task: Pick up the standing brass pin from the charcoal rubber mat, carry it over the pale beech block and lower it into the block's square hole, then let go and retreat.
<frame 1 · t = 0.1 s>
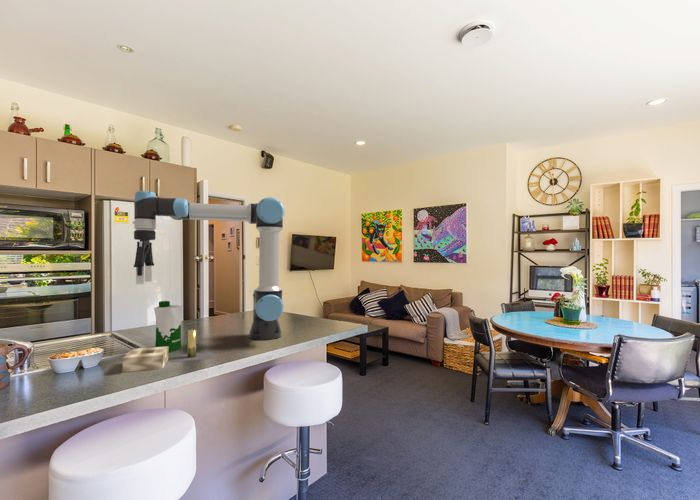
hand: (144, 282, 142), 28 cm above the worktop, fingers open, 13 cm apart
brass pin: (191, 356, 135), resting on mat
milk carton: (168, 351, 145), on the worktop
hole block: (146, 365, 125), on the worktop
mat: (191, 357, 135), on the worktop
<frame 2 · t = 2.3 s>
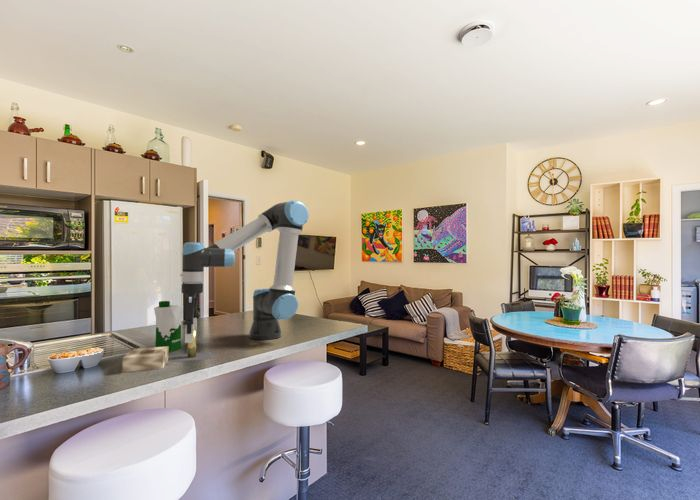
hand: (190, 338, 135), 7 cm above the worktop, fingers open, 13 cm apart
nothing on the worktop moved.
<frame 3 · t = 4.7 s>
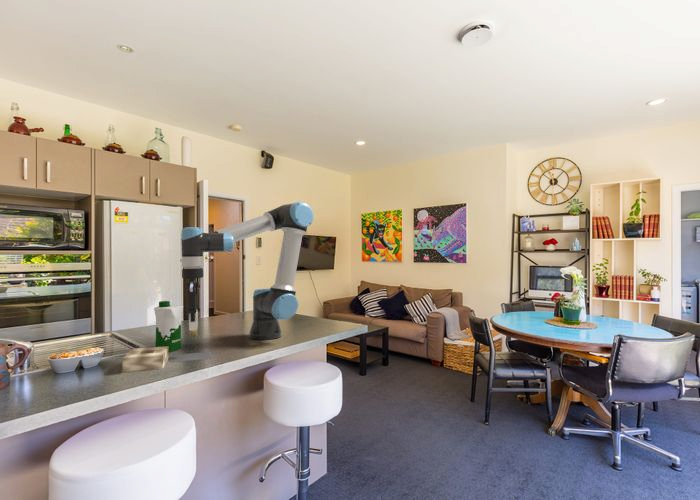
hand: (193, 328, 136), 11 cm above the worktop, fingers closed on brass pin, 3 cm apart
brass pin: (193, 336, 136), point 8 cm above the worktop, touching gripper
everything else where it was.
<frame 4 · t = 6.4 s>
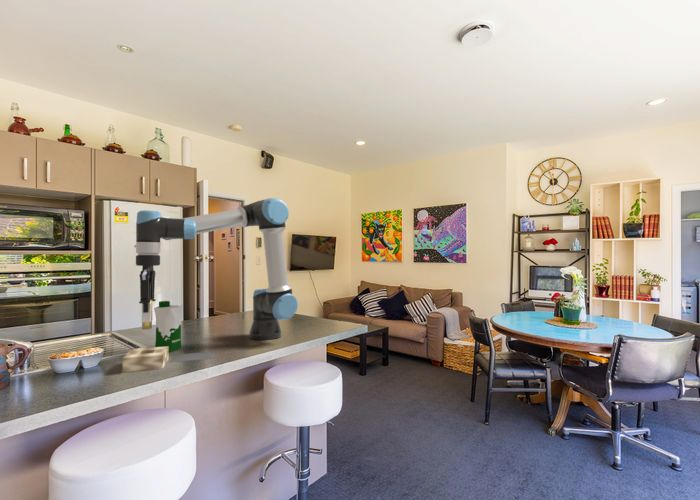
hand: (147, 320, 125), 16 cm above the worktop, fingers closed on brass pin, 2 cm apart
brass pin: (146, 328, 125), point 13 cm above the worktop, touching gripper
everything else where it was.
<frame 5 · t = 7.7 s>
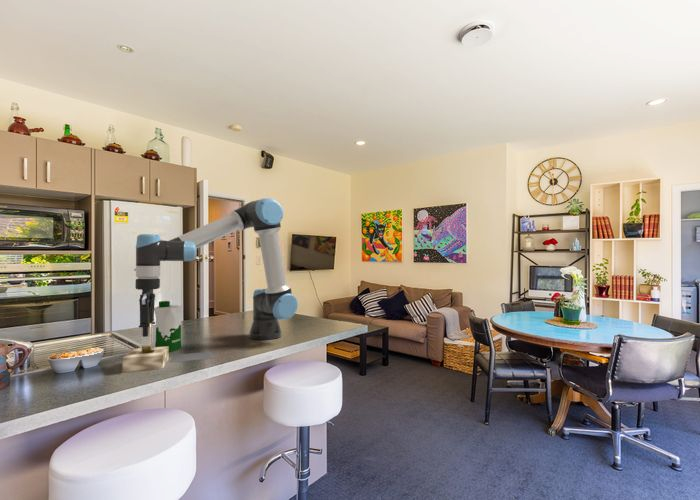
hand: (146, 344, 125), 8 cm above the worktop, fingers closed on brass pin, 2 cm apart
brass pin: (146, 352, 125), point 5 cm above the worktop, touching gripper
everything else where it was.
when the fingers open (6 cm above the worktop, at t = 8.8 s): brass pin drops 3 cm, resting in hole block.
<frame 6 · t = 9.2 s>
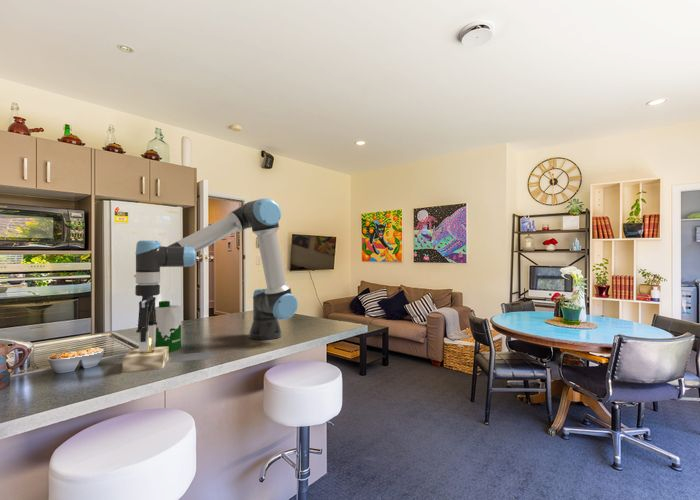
hand: (147, 347, 125), 7 cm above the worktop, fingers open, 10 cm apart
brass pin: (147, 365, 125), resting in hole block
everything else where it was.
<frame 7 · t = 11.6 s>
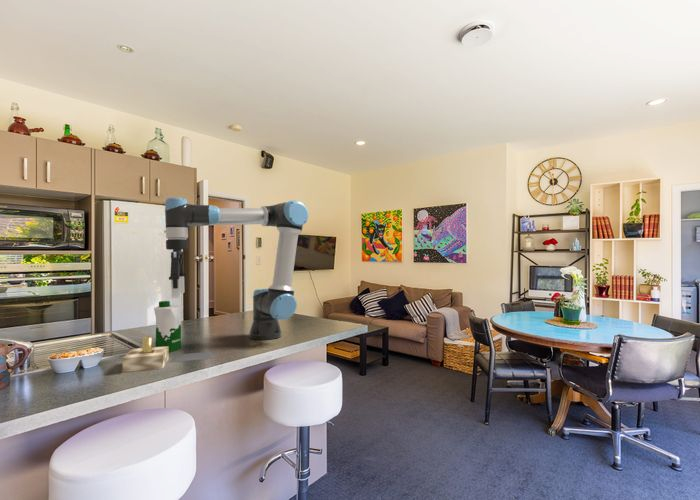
hand: (178, 295, 134), 24 cm above the worktop, fingers open, 13 cm apart
nothing on the worktop moved.
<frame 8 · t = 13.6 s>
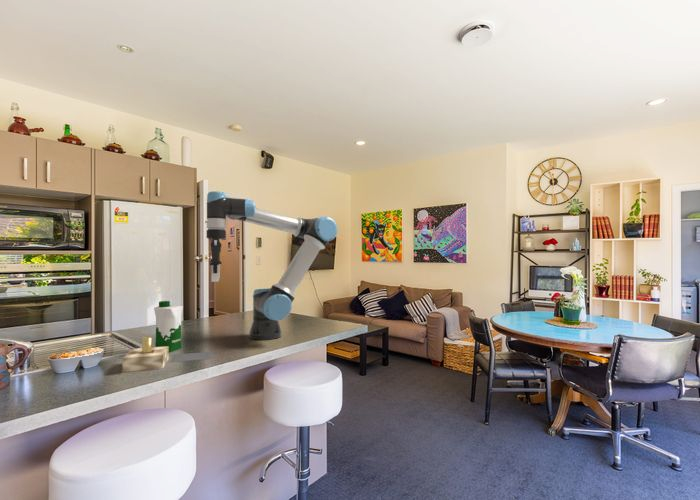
hand: (215, 280, 147), 29 cm above the worktop, fingers open, 13 cm apart
nothing on the worktop moved.
at the end: brass pin 0.3 cm off-centre on the hole block, point 0.0 cm above the hole block's base; brass pin tilted 0°; the gripper is holding nothing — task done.
